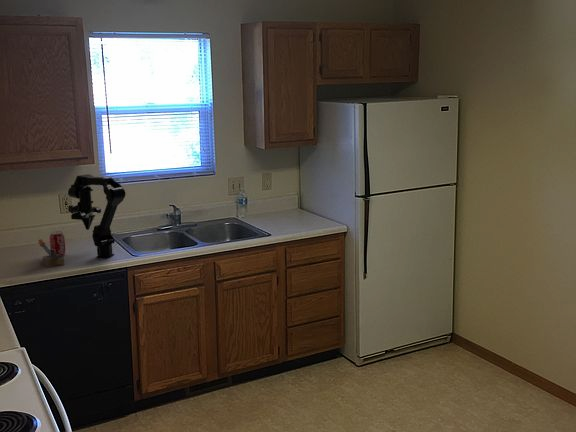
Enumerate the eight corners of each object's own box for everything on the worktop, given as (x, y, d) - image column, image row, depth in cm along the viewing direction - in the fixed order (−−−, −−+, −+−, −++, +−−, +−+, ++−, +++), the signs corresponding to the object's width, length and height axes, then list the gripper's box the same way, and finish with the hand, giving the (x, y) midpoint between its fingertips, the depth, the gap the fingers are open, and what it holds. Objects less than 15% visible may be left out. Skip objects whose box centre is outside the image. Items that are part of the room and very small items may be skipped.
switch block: (60, 259, 316) (59, 248, 314) (64, 264, 307) (63, 252, 306) (43, 262, 312) (42, 250, 311) (46, 267, 303) (45, 255, 302)
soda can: (67, 253, 327) (65, 230, 324) (63, 257, 320) (61, 234, 317) (53, 254, 327) (51, 231, 324) (49, 257, 320) (47, 234, 317)
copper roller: (53, 253, 311) (41, 238, 307) (55, 256, 306) (43, 240, 302) (49, 256, 311) (36, 241, 307) (51, 259, 306) (38, 243, 302)
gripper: (81, 195, 334) (83, 224, 337) (60, 202, 316) (63, 233, 319) (100, 196, 331) (102, 225, 334) (80, 203, 313) (82, 234, 317)
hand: (87, 229), depth 326 cm, fingers closed
